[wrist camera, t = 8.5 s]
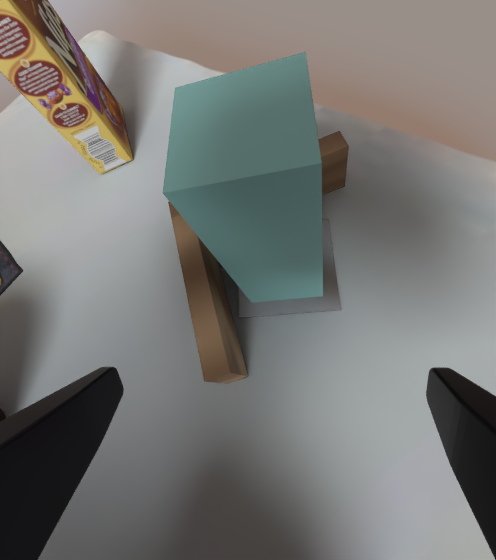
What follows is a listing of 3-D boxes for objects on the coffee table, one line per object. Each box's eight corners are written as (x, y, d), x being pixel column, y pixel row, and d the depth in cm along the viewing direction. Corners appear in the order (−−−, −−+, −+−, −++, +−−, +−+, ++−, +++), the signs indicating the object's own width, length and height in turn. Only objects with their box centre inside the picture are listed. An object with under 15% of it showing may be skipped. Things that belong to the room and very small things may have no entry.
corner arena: (419, 320, 18) (444, 302, 14) (227, 383, 19) (204, 381, 15) (336, 172, 23) (339, 130, 19) (191, 230, 24) (168, 201, 21)
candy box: (138, 159, 29) (-28, -49, 15) (101, 177, 30) (-93, -10, 16) (125, 107, 33) (-17, -97, 19) (93, 124, 33) (-69, -65, 20)
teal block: (323, 296, 19) (321, 163, 8) (251, 302, 20) (162, 193, 9) (315, 230, 21) (305, 49, 10) (250, 239, 22) (175, 85, 11)
